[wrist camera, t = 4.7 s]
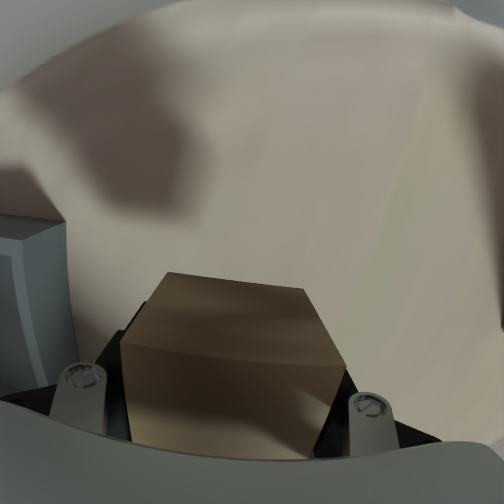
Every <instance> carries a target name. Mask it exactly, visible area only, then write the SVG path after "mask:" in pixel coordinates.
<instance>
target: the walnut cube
mask: <svg viewBox="0 0 504 504" xmlns="http://www.w3.org/2000/svg"><path fill="white" fill-rule="evenodd" d="M120 348H121V361H122V371H123V381H124V390H125V397H126V405H127V412H128V418H129V425H130V430H131V436H132V442H134V443H139V444H143V445H148V446H153V447H158V448H163V449H169V450H175V451H181V452H188V453H195V454H203V455H211V456H221V457H233V458H249V459H308V458H309V456H310V454H311V452H312V450H313V448H314V445H315V443H316V441H317V439H318V437H319V434H320V432H321V430H322V427H323V425H324V423H325V420H326V418H327V416H328V413H329V411H330V408H331V406H332V403H333V401H334V398H335V396H336V393H337V391H338V388H339V385H340V383H341V380H342V377H343V375H344V372H345V369H346V364H345V362H344V360H343V359H342V357H341V355H340V353H339V351H338V349H337V348H336V346H335V344H334V342H333V340H332V339H331V337H330V335H329V333H328V331H327V330H326V328H325V326H324V324H323V323H322V321H321V319H320V317H319V315H318V314H317V312H316V310H315V308H314V307H313V305H312V303H311V301H310V300H309V298H308V296H307V294H306V293H305V291H304V289H300V288H291V287H283V286H274V285H265V284H257V283H249V282H241V281H233V280H225V279H217V278H209V277H202V276H195V275H187V274H180V273H173V272H167V274H166V275H165V277H164V278H163V279H162V281H161V282H160V284H159V285H158V286H157V288H156V289H155V291H154V292H153V294H152V295H151V296H150V298H149V299H148V301H147V302H146V304H145V305H144V306H143V308H142V309H141V311H140V312H139V314H138V315H137V317H136V318H135V320H134V321H133V323H132V324H131V326H130V327H129V329H128V330H127V332H126V333H125V335H124V336H123V338H122V339H121V341H120Z"/></svg>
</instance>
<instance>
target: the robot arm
mask: <svg viewBox="0 0 504 504" xmlns="http://www.w3.org/2000/svg"><path fill="white" fill-rule="evenodd" d="M145 304H146V301H145V302H144V303H143V304H142V305H141V307H140V308H139V310H138V311H137V313H136V314H135V315H134V317H133V318H132V320H131V321H130V323H129V324H128V325H127V327H126V328H125V330H124V331H123V330H118V331H117V332H116V333H115V335H114V336H113V337H112V339H111V340H110V342H109V343H108V344H107V346H106V347H105V349H104V350H103V351H102V353H101V354H100V356H99V357H98V359H97V360H96V362H95V363H91V362H76V363H72V364H70V365H68V366H67V367H65V368H64V369H63V371H62V373H61V375H60V378H59V382H58V384H55V385H51V386H46V387H42V388H37V389H32V390H27V391H22V392H17V393H12V394H8V395H5V396H2V397H1V398H0V504H504V461H503V460H502V458H501V457H499V455H498V454H497V453H495V451H494V450H492V449H491V448H490V447H488V446H486V445H484V444H481V443H476V442H468V441H446V442H442V441H441V440H440V439H438V438H436V437H434V436H431V435H429V434H426V433H424V432H421V431H419V430H417V429H414V428H412V427H410V426H407V425H405V424H403V423H400V422H398V421H396V420H394V417H393V412H392V408H391V406H390V404H389V402H388V401H387V400H386V399H384V398H383V397H381V396H379V395H377V394H375V393H370V392H358V390H357V388H356V386H355V384H354V382H353V381H352V379H351V377H350V375H349V373H348V371H347V369H345V372H344V375H343V377H342V380H341V383H340V385H339V388H338V391H337V393H336V396H335V398H334V401H333V403H332V406H331V408H330V411H329V413H328V416H327V418H326V420H325V423H324V425H323V427H322V430H321V432H320V434H319V437H318V439H317V441H316V443H315V445H314V448H313V450H312V452H311V454H310V456H309V458H308V459H249V458H233V457H221V456H211V455H203V454H195V453H188V452H181V451H175V450H169V449H163V448H158V447H153V446H148V445H143V444H139V443H134V442H132V436H131V430H130V425H129V418H128V412H127V405H126V397H125V390H124V381H123V371H122V361H121V348H120V341H121V339H122V338H123V336H124V335H125V333H126V332H127V330H128V329H129V327H130V326H131V324H132V323H133V321H134V320H135V318H136V317H137V315H138V314H139V312H140V311H141V309H142V308H143V306H144V305H145ZM126 440H127V441H126ZM130 441H131V442H130ZM315 458H316V459H315Z"/></svg>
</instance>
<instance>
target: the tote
mask: <svg viewBox="0 0 504 504" xmlns="http://www.w3.org/2000/svg"><path fill="white" fill-rule="evenodd" d="M76 362H79V358H78V353H77V347H76V342H75V335H74V329H73V322H72V314H71V306H70V297H69V286H68V273H67V254H66V222H65V221H56V220H48V219H39V218H31V217H22V216H13V215H5V214H0V398H1V397H2V396H5V395H8V394H12V393H17V392H22V391H27V390H32V389H37V388H42V387H46V386H51V385H55V384H58V382H59V378H60V375H61V373H62V371H63V369H64V368H65V367H67V366H68V365H70V364H72V363H76Z"/></svg>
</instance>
